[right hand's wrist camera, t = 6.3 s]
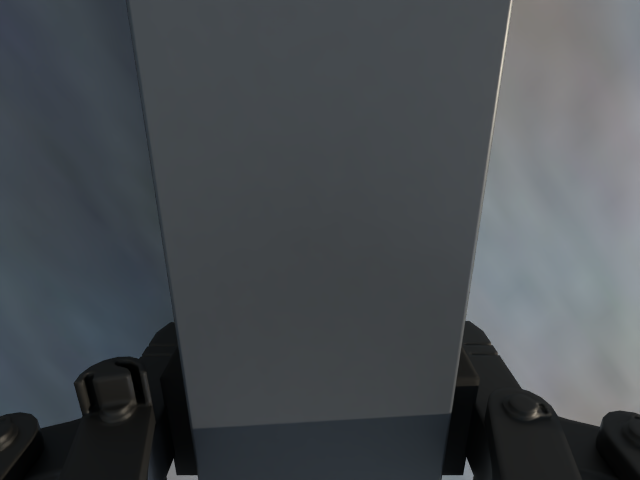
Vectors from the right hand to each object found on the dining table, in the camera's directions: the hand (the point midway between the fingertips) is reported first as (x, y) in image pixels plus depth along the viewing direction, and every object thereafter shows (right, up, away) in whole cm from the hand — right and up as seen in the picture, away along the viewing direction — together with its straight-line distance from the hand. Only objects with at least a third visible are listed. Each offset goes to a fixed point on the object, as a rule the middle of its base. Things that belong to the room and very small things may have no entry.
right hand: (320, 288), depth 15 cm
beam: (0, +21, -8) cm, 23 cm away
